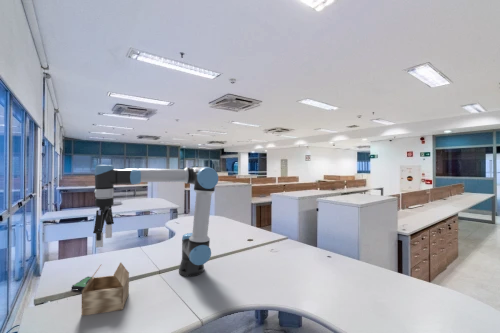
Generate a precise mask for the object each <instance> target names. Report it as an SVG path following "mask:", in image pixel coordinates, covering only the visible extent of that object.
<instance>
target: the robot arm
mask: <svg viewBox="0 0 500 333" xmlns="http://www.w3.org/2000/svg"><path fill="white" fill-rule="evenodd" d="M94 169H95V172H94V191H93V193H94V197H95V199H94V206H95V207H96V208H99V209H97V210H96V215H95V221H94V226H93V227H94V228H93V234H95V248H103V247H104V236H105V239H109V238H110V239H111V238H113V225H115V224H114V223H115V221H114V216H113V211H112V209H113V208H112V206H114V196H115V194H114V185H116V186H117V185H139V184H141V183H184V184H192V185H194V187H193V191H194V192H195V202H194V203H195V204H194V214H193V222H192V232H188V233H185V234H183V235H182V239H181V261H180V263H179V267H178V274H179V275H180V276H183V277H197V276H199V275H201V274H202V273H203V272H204V270H205V265H204V264H206V263H208V261H209V260H210V258H211V257H212V249H211V248H210V243H211V238H210V237H209V225H210V215H211V214H210V213H211V204H212V194H213V193H215V190H216V186H217V184H218V183H219V174H218V172H217V171H216V170H215V169H214V168H212V167H209V166H193V167H185V168H183V169H182V168H181V169H180V168H134V167H133V168H130V167H125V168H123V169H120V168H119V169H118V168H114V165H113V164H97V165H95V168H94ZM104 225H105V227H104ZM103 228H105V230H104V229H103ZM103 230H104V231H105V235H104V231H103Z"/></svg>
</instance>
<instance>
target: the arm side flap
mask: <svg viewBox="0 0 500 333" xmlns="http://www.w3.org/2000/svg"><path fill="white" fill-rule="evenodd" d="M113 275H114V276H115V278H116V279H117V280H118V281H119V283H120V284H121V285H122V286H123V287H124V284H125V282H126V279H127V277H128V275H129V276H130V272H129V271H128V270H127V268H126V267H125V266H124V265H123V263H122V262H119V264H118V266H117V267H116V269H115V271H114V274H113Z"/></svg>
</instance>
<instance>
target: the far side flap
mask: <svg viewBox="0 0 500 333" xmlns="http://www.w3.org/2000/svg"><path fill="white" fill-rule="evenodd" d="M102 266H103V265H102V264H100V265H99V267H98V268H97V269H96V270H95V272H94V274H93V275H92V276H91V277H92V278H93V277H94V276H95V275H96V274H97V272H98V271H99V269H100V267H102ZM92 278H91V279H92ZM91 279H90V280H91ZM90 280H89V282H90ZM89 282H88V283H89ZM88 283H87V285H88ZM87 285H86V286H87ZM86 286H85V287H86ZM85 287H84V289H85ZM84 289H83V290H84ZM83 290H82V291H81V293H82V292H83Z"/></svg>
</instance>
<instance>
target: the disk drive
mask: <svg viewBox="0 0 500 333" xmlns="http://www.w3.org/2000/svg"><path fill="white" fill-rule="evenodd" d="M91 278H92V276H86V277H84V278H82V279H81V280H79V281H78V282H76V283H74V284H72V286H71V290H72V289H78V290H79V291H80V292H82V290H83V289H84V287H85V286H86V285H87V283H88V282H89V280H90V279H91ZM93 278H94V276H93ZM90 281H91V280H90ZM85 288H86V287H85ZM78 290H77V291H78ZM79 291H78V292H79Z"/></svg>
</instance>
